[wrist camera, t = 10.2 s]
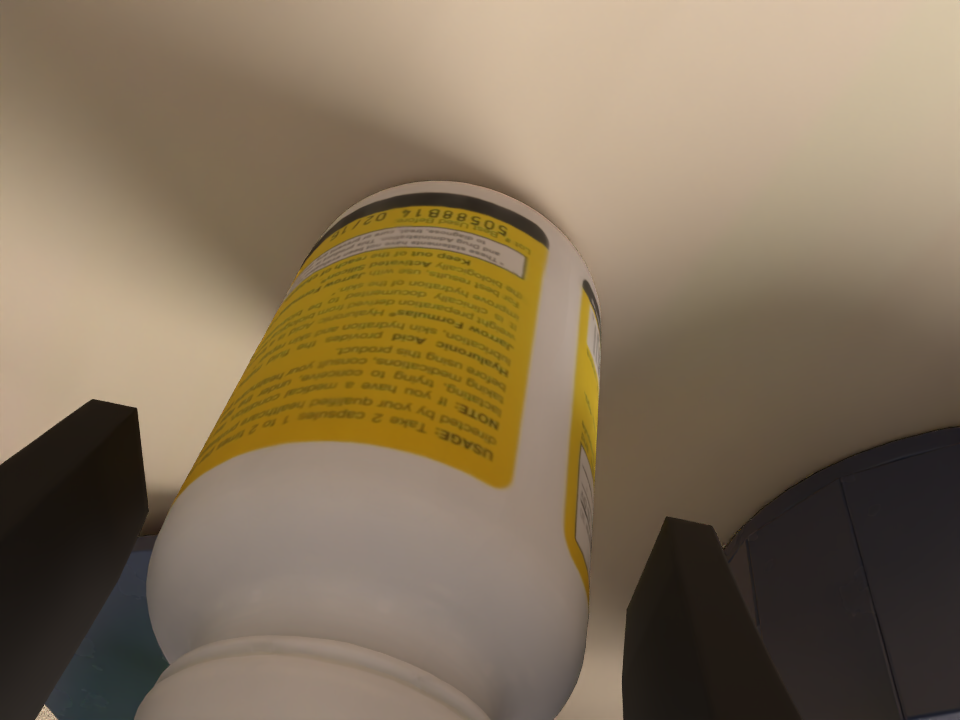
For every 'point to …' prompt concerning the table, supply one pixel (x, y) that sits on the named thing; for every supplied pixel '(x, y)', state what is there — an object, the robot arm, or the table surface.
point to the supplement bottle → (395, 481)
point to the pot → (863, 583)
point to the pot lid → (114, 652)
